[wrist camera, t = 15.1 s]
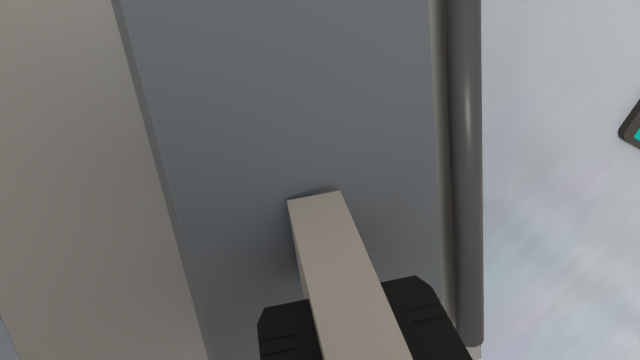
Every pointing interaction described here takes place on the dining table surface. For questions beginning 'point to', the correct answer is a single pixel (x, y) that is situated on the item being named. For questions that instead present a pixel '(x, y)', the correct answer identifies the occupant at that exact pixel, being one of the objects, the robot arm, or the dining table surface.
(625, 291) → the dining table surface
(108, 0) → the hinged lid box
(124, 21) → the cover
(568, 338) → the dining table surface
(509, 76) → the dining table surface
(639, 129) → the smartphone
